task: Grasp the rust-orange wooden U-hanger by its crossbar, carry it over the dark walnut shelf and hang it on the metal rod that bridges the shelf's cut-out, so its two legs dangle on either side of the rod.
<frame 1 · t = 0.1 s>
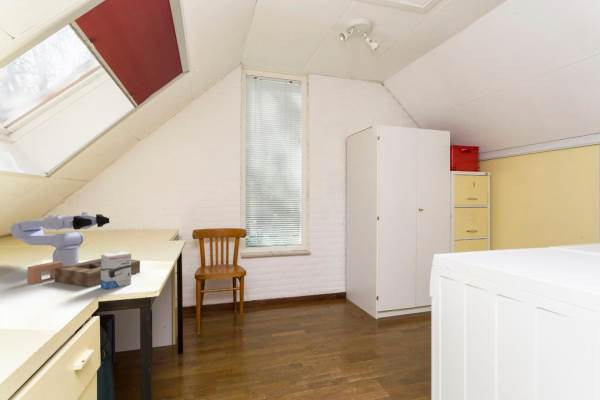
hand: (100, 221, 127), 22 cm above the table, tool horizontal, fingers open, 7 cm apart
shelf: (99, 276, 123), on the table
hanger: (45, 280, 117), on the table
ink box: (116, 286, 112), on the table
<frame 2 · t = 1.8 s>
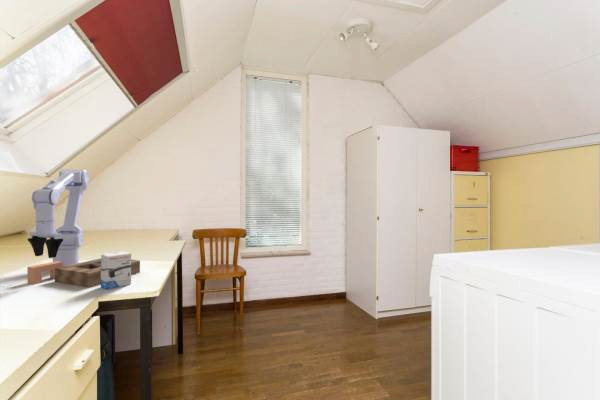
hand: (45, 256, 117), 9 cm above the table, tool pointing down, fingers open, 7 cm apart
nothing on the table moved.
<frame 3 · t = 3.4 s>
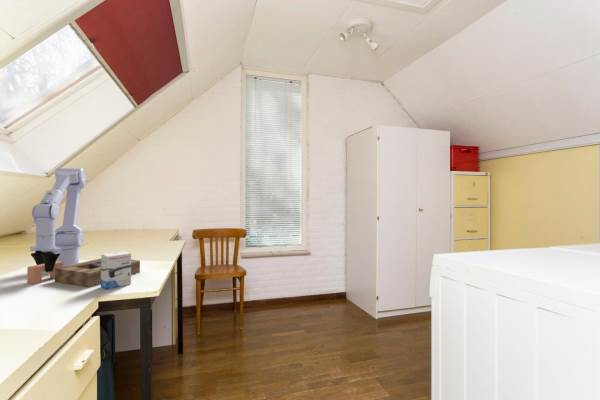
hand: (45, 271, 117), 3 cm above the table, tool pointing down, fingers closed on hanger, 3 cm apart
hanger: (45, 279, 117), on the table, touching gripper
everything else where it was.
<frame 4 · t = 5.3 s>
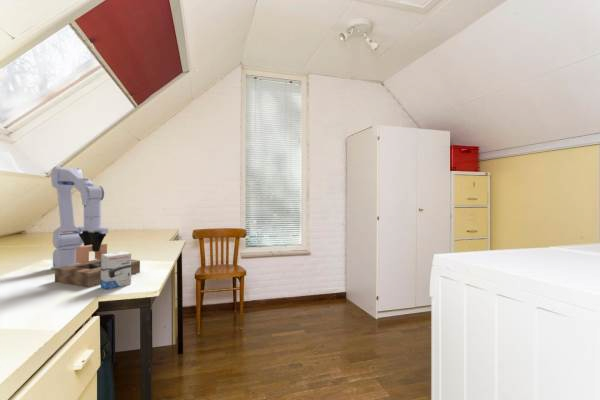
hand: (92, 250, 122), 10 cm above the table, tool pointing down, fingers closed on hanger, 3 cm apart
hanger: (91, 260, 122), point 7 cm above the table, touching gripper
everything else where it was.
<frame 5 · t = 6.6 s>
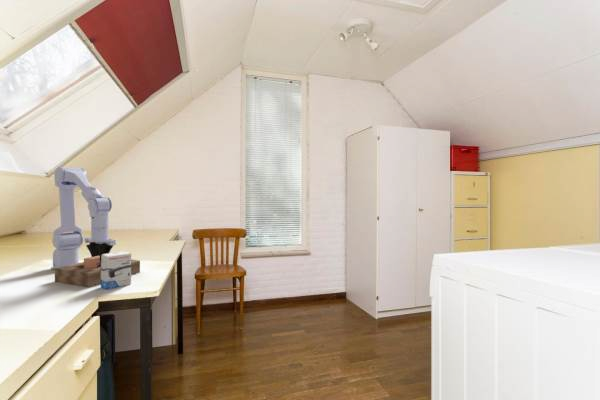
hand: (99, 261, 123), 6 cm above the table, tool pointing down, fingers closed on hanger, 3 cm apart
hanger: (99, 271, 123), point 2 cm above the table, touching gripper
everything else where it was.
when the fingers open (6 cm above the table, at t = 7.2 s): hanger drops 1 cm, resting on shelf.
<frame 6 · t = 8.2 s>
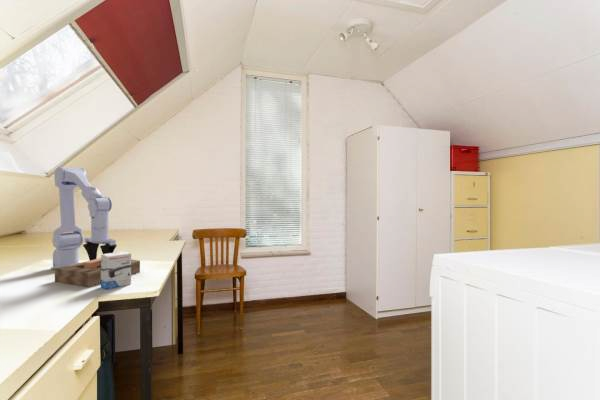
hand: (99, 261, 123), 6 cm above the table, tool pointing down, fingers open, 7 cm apart
hanger: (100, 274, 123), point 1 cm above the table, touching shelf
everything else where it was.
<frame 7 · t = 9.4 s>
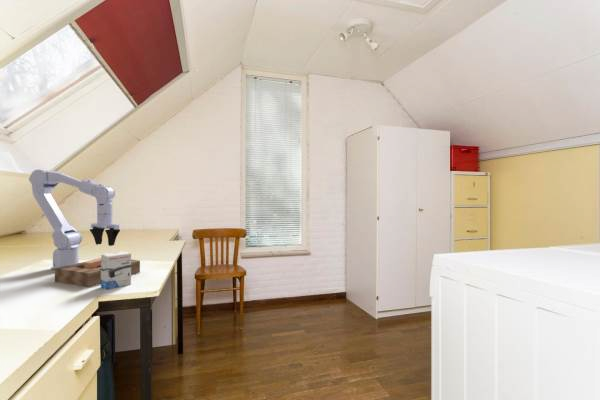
hand: (105, 244, 135), 10 cm above the table, tool pointing down, fingers open, 7 cm apart
nothing on the table moved.
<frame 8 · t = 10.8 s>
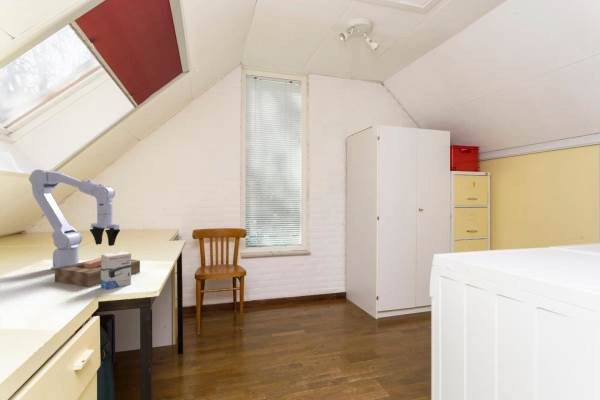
hand: (105, 244, 135), 10 cm above the table, tool pointing down, fingers open, 7 cm apart
nothing on the table moved.
at the end: hanger 0.2 cm off-centre on the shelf, point 1.0 cm above the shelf's base; hanger touching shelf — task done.
